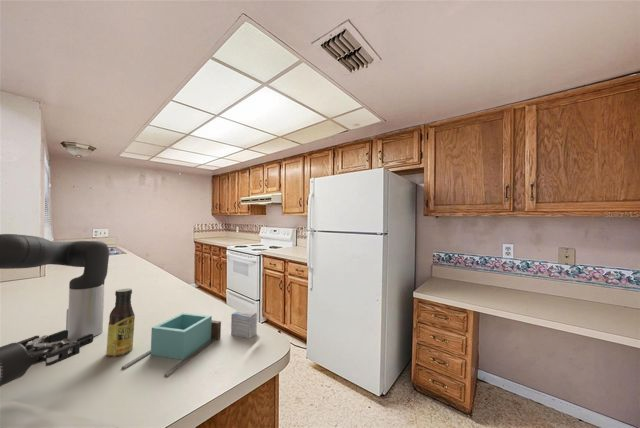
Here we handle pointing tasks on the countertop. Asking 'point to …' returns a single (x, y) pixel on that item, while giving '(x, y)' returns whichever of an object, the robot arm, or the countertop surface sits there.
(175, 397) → the countertop surface
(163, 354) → the holder
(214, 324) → the track board
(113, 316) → the sauce bottle
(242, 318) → the medicine box
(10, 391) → the countertop surface
